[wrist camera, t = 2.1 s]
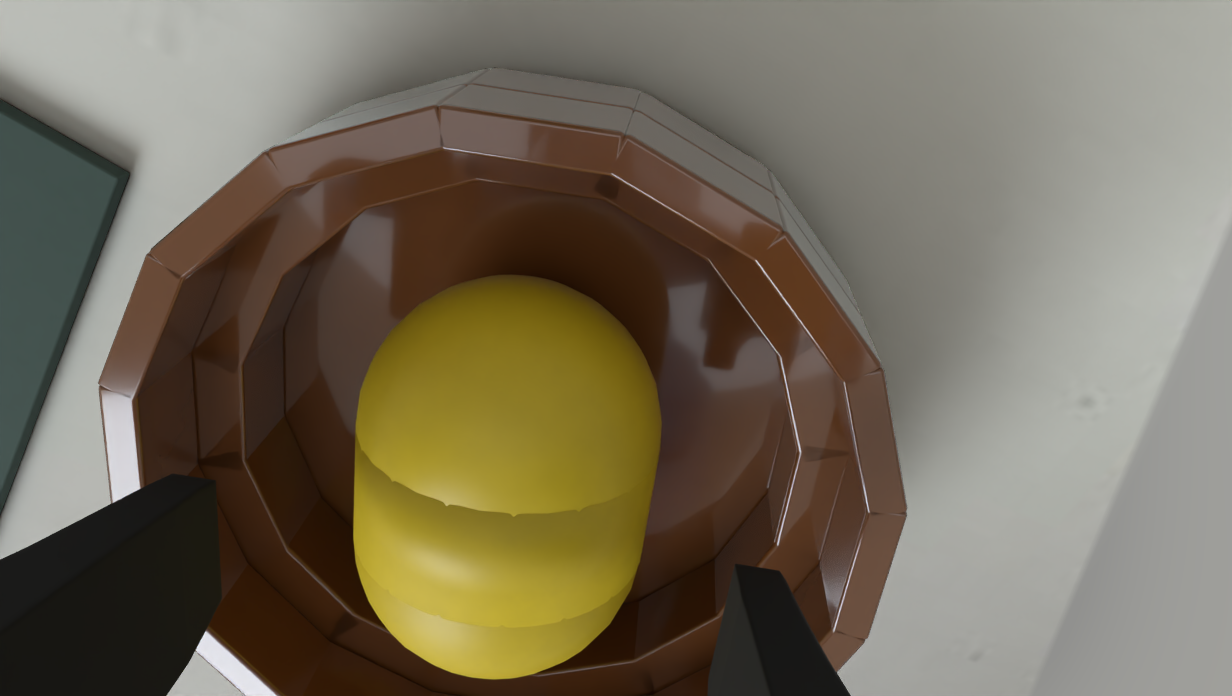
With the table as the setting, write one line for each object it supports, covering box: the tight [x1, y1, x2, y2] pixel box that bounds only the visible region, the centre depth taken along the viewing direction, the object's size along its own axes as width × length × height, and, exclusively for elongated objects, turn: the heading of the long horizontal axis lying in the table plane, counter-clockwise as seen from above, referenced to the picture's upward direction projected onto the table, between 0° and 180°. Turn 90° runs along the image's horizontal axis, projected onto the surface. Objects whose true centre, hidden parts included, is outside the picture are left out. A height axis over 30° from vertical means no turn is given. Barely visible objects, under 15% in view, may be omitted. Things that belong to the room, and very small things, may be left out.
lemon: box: [353, 275, 662, 679], centre depth 15 cm, size 7×5×5 cm
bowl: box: [98, 67, 907, 696], centre depth 16 cm, size 12×12×4 cm
